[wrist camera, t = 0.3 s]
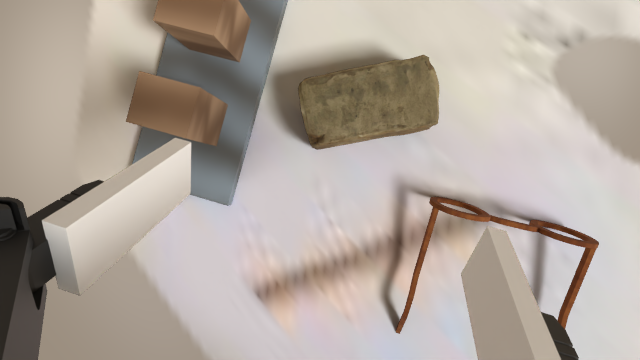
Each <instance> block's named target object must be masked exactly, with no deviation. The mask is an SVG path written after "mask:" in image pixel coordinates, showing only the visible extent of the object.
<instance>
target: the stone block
mask: <svg viewBox="0 0 640 360" xmlns="http://www.w3.org/2000/svg"><path fill="white" fill-rule="evenodd" d="M298 93H299V98H300V107H301V112H302V117H303V120H304V125H305V129H306V132H307V134H308V137H309V142H310V144H311V146H312V148H315V149H317V150H318V149H324V148H330V147H335V146H340V145H346V144H351V143H356V142H362V141H367V140H372V139H377V138H382V137H389V136H398V135H405V134H411V133H415V132H419V131H423V130H427V129H429V128H430V127H431V126H433V125H436V124H437V123H438V118H439V105H438V98H439V82H438V78H437V75H436V72H435V70H434V67H433V66H432V65H431V64H430V61H429V57H427V56H425V55H421V56H418V57H414V58H411V59H406V60H392V61H388V62H384V63H379V64H374V65H368V66H362V67H357V68H352V69H347V70H342V71H337V72H333V73H329V74H325V75H320V76H315V77H310V78H306V79H304V80H303V81H302V82H301V83H300V85H299V88H298Z"/></svg>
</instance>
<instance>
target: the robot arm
mask: <svg viewBox="0 0 640 360" xmlns="http://www.w3.org/2000/svg"><path fill="white" fill-rule="evenodd" d="M190 194H191V142H189V141H185V140H182V139H178V138H174V139H172V140H171V141H169V142H168V143H166V144H164V145H163V146H161V147H160V148H158V149H156V150H155V151H153V152H151V153H150V154H148V155H147V156H145V157H143V158H142V159H140V160H139V161H137V162H135V163H134V164H132V165H131V166H129V167H127V168H126V169H124V170H122V171H121V172H119V173H118V174H116V175H114V176H113V177H111V178H110V179H108V180H106V181H105V182H104V181H100V180H97V181H94V182H91V183H88V184H85V185H82V186H80V187H79V188H77V189H75V190H74V191H72V192H71V193H70V194H67V195H65V196H64V197H62V198H61V199H60V200H57V201H55V202H53V203H52V204H50V205H48V206H47V207H45V208H43V209H41V210H40V211H38V212H36V213H35V214H33V215H32V216H30V217H28V218H27V216H26V212H25V208H24V205H23V203H22V202H21V201H20V200H18V199H15V198H10V197H0V360H38V354H39V347H40V339H41V332H42V324H43V316H44V309H45V302H46V295H47V289H46V284H45V283H47V282H48V281H49V280H50V279H52V278H53V277H54V276H56V280H57V284H58V287H59V289H62V290H65V291H68V292H71V293H74V294H77V295H82V293H84V292H85V291H86V290H87V289H88V288H89V287H90V286H91V285H92V284H93V283H94V282H95V281H97V280H98V279H99V278H100V277H101V276H102V275H103V274H104V273H105V272H106V271H107V270H109V269H110V268H111V266H113V265H114V264H115V263H116V262H117V261H118V260H119V259H120V258H121V257H123V256H124V255H125V254H126V253H127V252H128V251H129V250H130V249H131V248H132V247H133V246H134V245H136V244H137V243H138V242H139V241H140V240H141V239H142V238H143V237H144V236H145V235H146V234H147V233H149V232H150V231H151V230H152V229H153V228H154V227H155V226H156V225H157V224H158V223H159V222H160V221H162V220H163V219H164V218H165V217H166V216H167V215H168V214H169V213H170V212H171V211H172V210H173V209H175V208H176V207H177V206H178V205H179V204H180V203H181V202H182V201H183V200H184V199H185V198H186V197H187V196H189V195H190ZM461 277H462V282H463V287H464V292H465V297H466V302H467V307H468V312H469V317H470V322H471V327H472V332H473V336H474V341H475V346H476V351H477V356H478V360H578V358H579V357H578V355H577V353H576V351H575V349H574V348H572V346H573V345H572V343H571V341H570V339H569V337H568V334H567V332H566V330H565V329H564V328H563V327H562V326H561V325H560V323H559V322H558V321H557V320H556V319H555V317H554V316H552V315H549V314H545V313H542V312H541V311H540V309H539V307H538V304H537V302H536V300H535V297H534V295H533V293H532V290H531V288H530V286H529V283H528V281H527V279H526V276H525V274H524V272H523V269H522V267H521V265H520V262H519V260H518V258H517V255H516V253H515V251H514V248H513V246H512V244H511V241H510V239H509V237H508V234H507V232H506V231H503V230H500V229H496V228H492V227H489V226H487V228H486V230H485V231H484V233H483V235H482V237H481V239H480V240H479V242H478V244H477V246H476V248H475V250H474V251H473V253H472V255H471V257H470V259H469V260H468V262H467V264H466V266H465V268H464V270H463V271H462V273H461Z"/></svg>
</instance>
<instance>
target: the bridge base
mask: <svg viewBox="0 0 640 360" xmlns="http://www.w3.org/2000/svg"><path fill="white" fill-rule="evenodd" d="M287 2H288V0H158V4H157V7H156V11H155V15H154V18H153V21H155V22H156V23H157V24H158V25H159V26H161V27H162V28H163V29H164V30H166V31H167V32H168V33H167V37H166V41H165V44H164V48H163V52H162V56H161V59H160V63H159V67H158V70H157V74H156V75H152V74H149V73H145V72H141V71H139V74H138V78H137V82H136V86H135V89H134V93H133V97H132V100H131V104H130V108H129V112H128V115H127V119H126V122H129V123H133V124H137V125H140V126H142V130H141V134H140V137H139V141H138V145H137V148H136V152H135V156H134V159H133V163H132V164H134V163H135V162H137V161H139V160H140V159H142V158H143V157H145V156H147V155H148V154H150V153H151V152H153V151H155V150H156V149H158V148H160V147H161V146H163V145H164V144H166V143H168V142H169V141H171V140H172V139H174V138H178V139H182V140H185V141H189V142H191V194H190V195H193V196H197V197H200V198H204V199H207V200H210V201H214V202H217V203H220V204H224V205H227V206H228V205H231V204H232V200H233V197H234V193H235V189H236V186H237V182H238V178H239V175H240V171H241V168H242V164H243V160H244V157H245V153H246V150H247V146H248V142H249V139H250V135H251V132H252V128H253V124H254V121H255V117H256V113H257V110H258V106H259V103H260V99H261V95H262V92H263V88H264V85H265V81H266V77H267V74H268V70H269V67H270V63H271V59H272V56H273V52H274V48H275V45H276V41H277V38H278V34H279V30H280V27H281V23H282V20H283V16H284V12H285V9H286V5H287Z"/></svg>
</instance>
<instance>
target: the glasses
mask: <svg viewBox="0 0 640 360" xmlns="http://www.w3.org/2000/svg"><path fill="white" fill-rule="evenodd" d="M429 203H430V204H431V205H432V206H433V209H432V212H431V216H430V219H429V222H428V226H427V229H426V232H425V236H424V239H423V243H422V246H421V249H420V253H419V256H418V259H417V263H416V266H415V269H414V273H413V277H412V282H411V286H410V291H409V295H408V298H407V302H406V306H405V309H404V312H403V314H402V317H401V319H400V321H399V323H398V326H397V330H396V333H399V334H400V332H401V330H402V327H403V325H404V323H405V321H406V319H407V316H408V313H409V310H410V307H411V304H412V301H413V298H414V294H415V290H416V285H417V281H418V277H419V274H420V271H421V267H422V264H423V261H424V257H425V254H426V251H427V247H428V244H429V241H430V237H431V234H432V231H433V227H434V224H435V221H436V218H437V214H438V211H439V210H440V211H443V212H445V213H448V214H451V215H454V216H457V217H461V218H465V219H469V220H474V221H481V222H488V221H493V222H496V223H499V224H503V225H506V226H511V227H515V228H519V229H523V230H527V231H533V232H539V233H541V234H543V235H545V236H548V237H551V238H554V239H556V240H559V241H562V242H566V243H569V244H573V245H576V246H581V247H585V251H584V253H583V256H582V258H581V261H580V263H579V265H578V268H577V270H576V273H575V275H574V278H573V280H572V283H571V285H570V287H569V290H568V292H567V295H566V297H565V300H564V302H563V305H562V307H561V310H560V313H559V317H558V322H559V323H560V325H561V326H562V327H563V328H564V329H565V327H566V323H567V319H568V315H569V313H570V311H571V308H572V306H573V303H574V301H575V299H576V296H577V294H578V291H579V289H580V287H581V284H582V282H583V279H584V277H585V275H586V272H587V270H588V267H589V265H590V262H591V260H592V258H593V255H594V253H595V250H596V248H597V247H598V245H599V242H598V241H596V240H595V239H593V238H591V237H589V236H587V235H585V234H583V233H581V232H578V231H575V230H573V229H570V228H567V227H564V226H560V225H557V224H553V223H549V222H545V221H539V220H531V221H530V224H529V225H528V224H523V223H519V222H515V221H511V220H507V219H503V218H499V217H495V216H492V215H489V214H488V213H486V212H485V211H483V210H481V209H480V208H477V207H475V206H473V205H470V204H467V203H464V202H460V201H456V200H452V199H448V198H443V197H431V198H430V202H429ZM440 203H447V204H451V205H456V206H459V207H462V208H466V209H468V210H471V211H473V212H475V213H477V214H478V215H476V214H470V213H465V212H461V211H458V210H455V209H452V208H449V207H446V206H444V205H442V204H440ZM541 226H542V227H541ZM543 227H547V228H552V229H556V230H559V231H562V232H565V233H568V234H571V235H574V236H576V237H578V238H580V239H582V240H578V239H574V238H570V237H566V236H563V235H560V234H557V233H554V232H552V231H549V230H547V229H545V228H543ZM583 240H584V241H583Z"/></svg>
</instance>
